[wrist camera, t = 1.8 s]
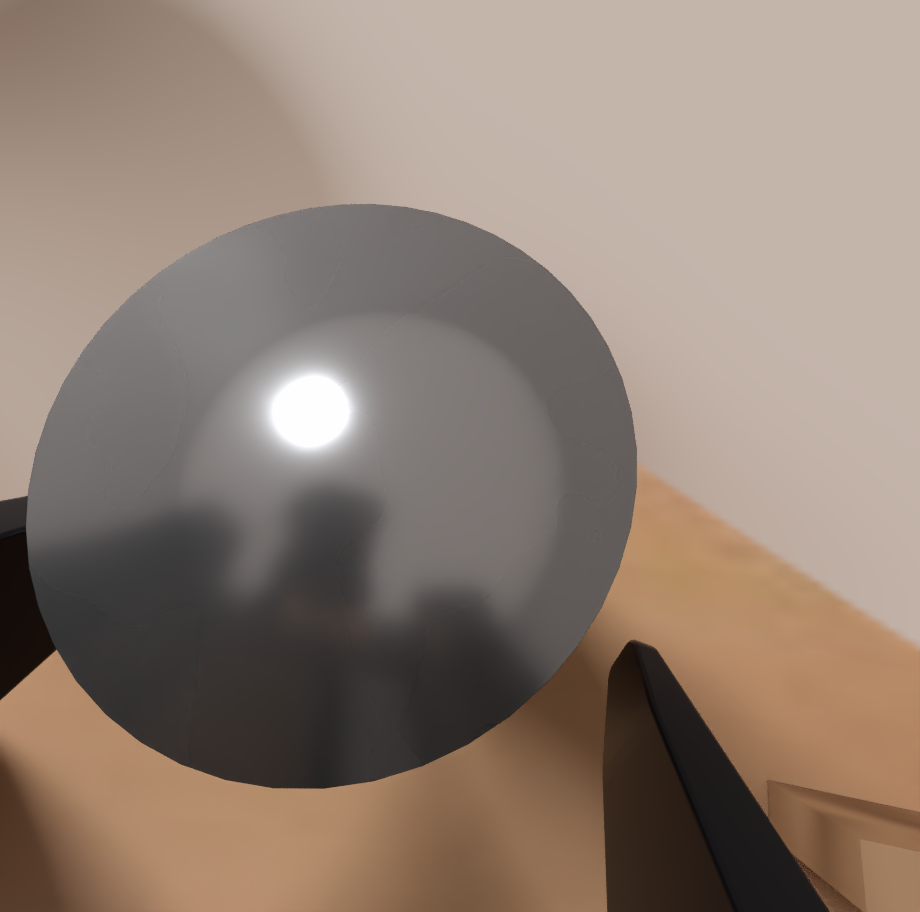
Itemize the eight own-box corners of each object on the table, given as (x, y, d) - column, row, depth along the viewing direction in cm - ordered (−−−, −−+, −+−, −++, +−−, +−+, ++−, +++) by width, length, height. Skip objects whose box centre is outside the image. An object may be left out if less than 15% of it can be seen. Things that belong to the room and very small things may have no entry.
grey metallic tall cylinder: (506, 616, 16) (704, 761, 3) (378, 625, 16) (-60, 814, 3) (494, 492, 18) (584, 190, 4) (378, 499, 18) (98, 219, 4)
